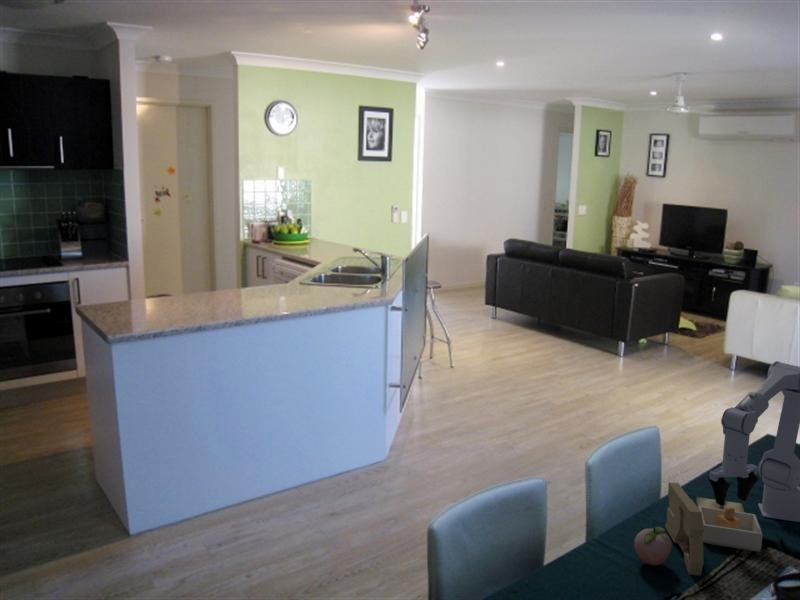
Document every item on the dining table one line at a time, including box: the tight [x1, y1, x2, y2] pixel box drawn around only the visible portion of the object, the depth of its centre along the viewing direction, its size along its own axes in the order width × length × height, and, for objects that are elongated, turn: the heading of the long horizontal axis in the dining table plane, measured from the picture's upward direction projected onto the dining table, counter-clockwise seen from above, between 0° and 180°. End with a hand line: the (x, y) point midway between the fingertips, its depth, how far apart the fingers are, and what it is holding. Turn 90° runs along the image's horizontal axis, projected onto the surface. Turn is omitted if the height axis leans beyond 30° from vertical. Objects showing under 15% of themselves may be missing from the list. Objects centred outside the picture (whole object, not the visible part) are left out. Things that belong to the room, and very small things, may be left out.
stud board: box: [695, 496, 746, 513], centre depth 188 cm, size 12×12×5 cm
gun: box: [664, 481, 704, 576], centre depth 168 cm, size 24×3×15 cm, turn 171°
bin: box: [698, 506, 764, 553], centre depth 175 cm, size 14×11×5 cm
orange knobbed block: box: [716, 506, 741, 529], centre depth 175 cm, size 4×4×8 cm
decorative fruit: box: [633, 526, 673, 567], centre depth 162 cm, size 9×8×10 cm
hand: (730, 501), depth 175 cm, fingers open, 7 cm apart
